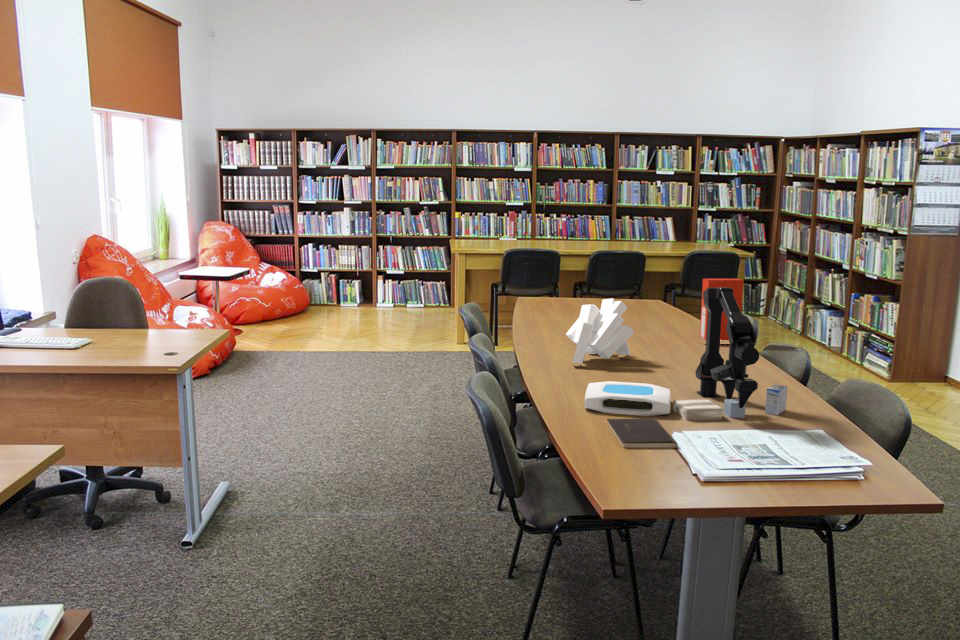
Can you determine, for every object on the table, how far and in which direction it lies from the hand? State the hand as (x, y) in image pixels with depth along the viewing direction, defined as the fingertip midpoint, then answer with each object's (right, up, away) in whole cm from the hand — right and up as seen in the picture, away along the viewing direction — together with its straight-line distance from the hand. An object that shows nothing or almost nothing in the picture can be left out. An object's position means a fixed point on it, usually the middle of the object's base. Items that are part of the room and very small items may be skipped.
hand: (734, 404), depth 251 cm
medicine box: (+16, -3, +5) cm, 17 cm away
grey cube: (0, -4, +1) cm, 4 cm away
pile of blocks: (-32, +10, +83) cm, 89 cm away
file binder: (+34, +16, +124) cm, 130 cm away
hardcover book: (-36, -8, -21) cm, 42 cm away
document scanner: (-33, -2, +11) cm, 35 cm away
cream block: (-12, -4, +1) cm, 13 cm away
